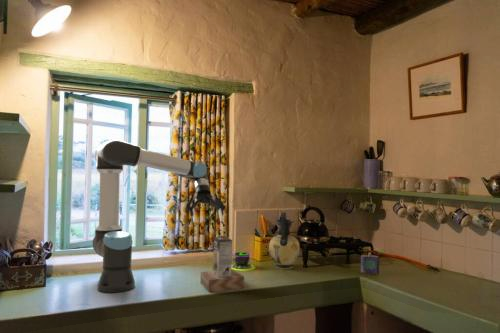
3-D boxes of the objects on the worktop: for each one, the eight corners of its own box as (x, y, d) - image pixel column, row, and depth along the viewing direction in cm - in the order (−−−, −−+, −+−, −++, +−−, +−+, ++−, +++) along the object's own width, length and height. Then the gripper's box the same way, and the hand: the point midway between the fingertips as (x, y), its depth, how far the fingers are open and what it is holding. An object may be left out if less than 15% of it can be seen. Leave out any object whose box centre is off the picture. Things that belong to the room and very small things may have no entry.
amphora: (267, 263, 204) (267, 211, 205) (296, 263, 205) (296, 211, 206) (270, 271, 186) (271, 213, 188) (302, 271, 187) (302, 214, 188)
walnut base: (208, 292, 149) (208, 280, 150) (200, 283, 162) (200, 272, 163) (243, 288, 155) (244, 276, 156) (233, 279, 168) (233, 269, 169)
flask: (361, 273, 185) (361, 252, 185) (360, 272, 188) (360, 251, 188) (379, 274, 183) (379, 253, 184) (378, 273, 186) (378, 252, 186)
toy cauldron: (237, 263, 204) (238, 244, 204) (260, 266, 196) (260, 246, 196) (222, 268, 191) (222, 247, 191) (246, 272, 183) (246, 251, 184)
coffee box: (212, 272, 162) (213, 236, 163) (225, 271, 165) (226, 236, 165) (217, 277, 154) (218, 240, 154) (231, 276, 156) (232, 239, 157)
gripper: (223, 193, 195) (230, 224, 181) (177, 193, 186) (181, 225, 172) (226, 184, 190) (234, 215, 176) (180, 183, 182) (184, 215, 167)
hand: (208, 220), depth 174 cm, fingers open, 13 cm apart
